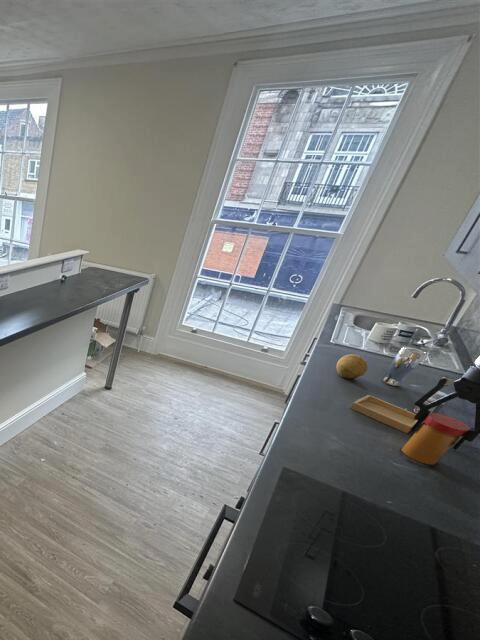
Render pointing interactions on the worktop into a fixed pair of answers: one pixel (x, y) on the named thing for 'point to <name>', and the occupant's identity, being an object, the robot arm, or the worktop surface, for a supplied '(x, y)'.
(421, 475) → the worktop surface
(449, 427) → the lid
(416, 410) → the pill bottle
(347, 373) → the potato
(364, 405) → the tray
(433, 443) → the jam jar
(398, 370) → the beer glass
